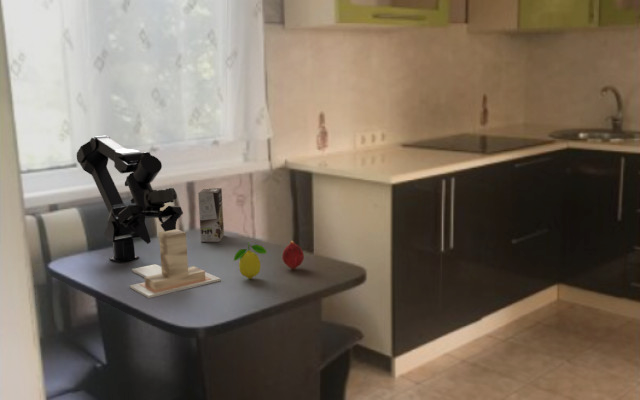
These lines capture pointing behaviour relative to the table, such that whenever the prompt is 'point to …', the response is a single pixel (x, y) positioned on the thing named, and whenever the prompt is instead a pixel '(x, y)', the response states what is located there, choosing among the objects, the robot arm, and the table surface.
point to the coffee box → (211, 215)
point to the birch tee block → (173, 262)
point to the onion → (293, 255)
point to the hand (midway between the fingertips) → (162, 242)
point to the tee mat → (151, 292)
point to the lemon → (249, 261)
